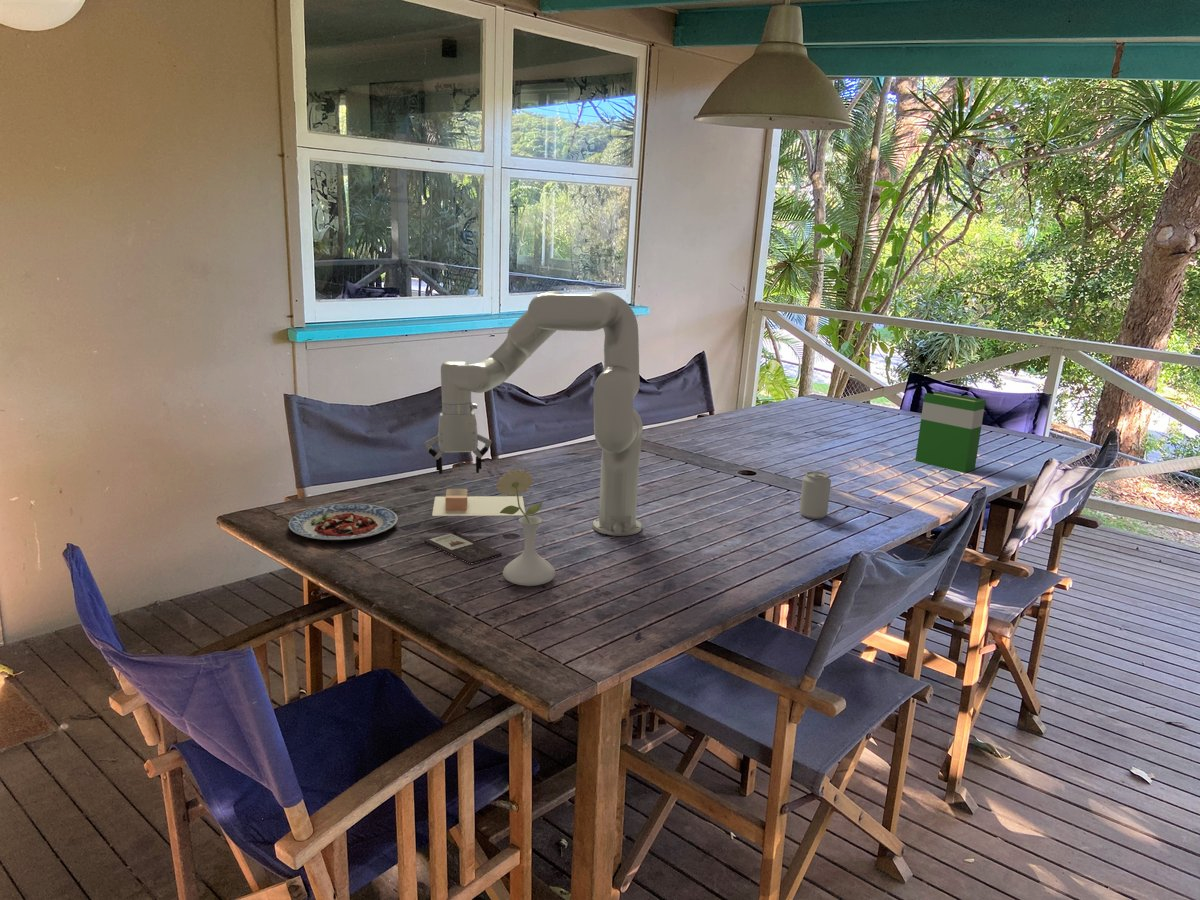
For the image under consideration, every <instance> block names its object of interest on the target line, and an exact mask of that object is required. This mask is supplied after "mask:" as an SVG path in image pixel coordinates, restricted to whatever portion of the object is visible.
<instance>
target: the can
mask: <svg viewBox="0 0 1200 900" xmlns="http://www.w3.org/2000/svg"><path fill="white" fill-rule="evenodd" d="M831 483H832V481H831V479H830V475H829V474H828V473H826V472H823V471H816V470H811V471H809V470H808V471H806V472H805V475H804V476H803V477H802V482H801V491H800V502H799V510H798V511H799V513H800V514H801V516H803V517H805V518H808V519H811V520H820V519H823V518H825V517H826V516H828V512H829V511H828V509H829V502H830V493H831V485H832V484H831Z"/></svg>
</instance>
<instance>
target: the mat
mask: <svg viewBox="0 0 1200 900" xmlns="http://www.w3.org/2000/svg"><path fill="white" fill-rule="evenodd" d="M518 497H519V504H520V507H521V509H522V510H523V512H524V513H525V514H526V508H525V503H524V498H523V497H524V496H523V495H521V496H520V495H518ZM445 498H446V496H435V497H434V500H433V501H434V502H433V508H432V514H431V516H432V517H469V516H471V517H479V516H480V517H481V516H482V517H484V516H485V517H490V516H491V517H493V516H499V517H500V516H501V517H502V516H505V517H506V516H511V517H512V516H513V517H514V516H518V517H519V516H520V517H525V516H524V514H523V513H522V512H521V510H520V509H519V510H518V511H517V512H516V513H515V514H505V513H500V512H501V510H502V509H504V508H505V507H507V506H515V507H518V508H519V506H518V500H517V495H515V496H508V495H507V496H506V495H503V496H501V495H500V496H499V495H497V496H495V495H494V496H489V495H488V496H487V495H485V496H480V495H479V496H477V495H475V496H468V495H467V511H446V505H445Z"/></svg>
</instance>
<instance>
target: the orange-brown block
mask: <svg viewBox="0 0 1200 900" xmlns="http://www.w3.org/2000/svg"><path fill="white" fill-rule="evenodd" d="M467 496H468V488H446V491H445V497H446V498H445V505H446V511H467Z"/></svg>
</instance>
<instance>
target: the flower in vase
mask: <svg viewBox="0 0 1200 900" xmlns="http://www.w3.org/2000/svg"><path fill="white" fill-rule="evenodd" d="M531 485H533V477H532V474H531V472H530V471H526V472H525V469H524V468H522V469H519V468H516V469H515V470H513V469H510V470H508V472H506V473H505V472H504V473H503V475H501V476H500V477H498V481H497V482H496V485H495V487H496V489H497V490H498V493H499V494H501V495H503V496H506V495H507V496H517V500H518V506H519V508H518V507H515V506H507V507H505V508H504V509H502V510H501V512H500V513H505V514H515V513H516V512H517V511H518V510H519V509H520V510H521V512H522V513H523V514H524V516H520V518H519V519H518V522H519V524H520V525H521V527H522V530H523V534H524V545H523V546H524V548H523V551H522V552H521V554H519V555H518V556H517V557H516V558H514V559H513V560H511V561H510V562H509V563H508V564H506V565H505V566H504V569H503V570H502V575H503V577H504V579H505V580H506V581H508V582H510V583H512V584H514V585H518V586H525V587H532V586H534V587H535V586H541V585H544V584H546V583H549V582H551V581H552V580H554V578H555V576H556V570H555V567H554V566H553V565H552V564H551V563H550V562H549V561H547V559H545V558H543V557H542V556H540V555H539V554H538V552H537V550H536V536H537V531H538V528H539V526H540V525H541V523H542V522H543V519H542V518H540V517H539V516H533V515H534V514H537V513H538V511H540V509H541V508H542V503H543V502H540V503H536V504H533V505H531V506H529V507H527V509H526V511H525V513H524V512H523V510H522V509H521V507H520V504H519V497H518V496H519V495H521V494H522V493H525V492H528V489H529V488H531Z"/></svg>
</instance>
